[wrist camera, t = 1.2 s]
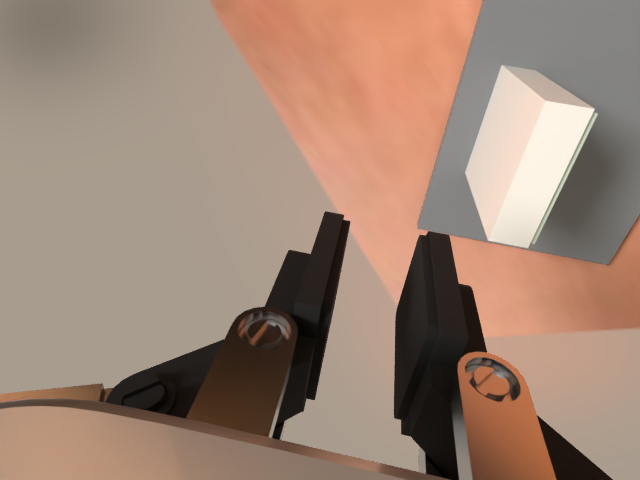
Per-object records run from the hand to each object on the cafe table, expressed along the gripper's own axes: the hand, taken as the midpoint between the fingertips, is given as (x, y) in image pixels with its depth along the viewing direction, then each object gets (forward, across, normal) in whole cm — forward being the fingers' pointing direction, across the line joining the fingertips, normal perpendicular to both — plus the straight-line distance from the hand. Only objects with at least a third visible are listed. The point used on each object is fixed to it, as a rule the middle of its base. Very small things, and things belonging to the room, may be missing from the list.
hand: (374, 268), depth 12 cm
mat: (+19, -11, 0) cm, 22 cm away
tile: (+18, -7, 0) cm, 20 cm away
